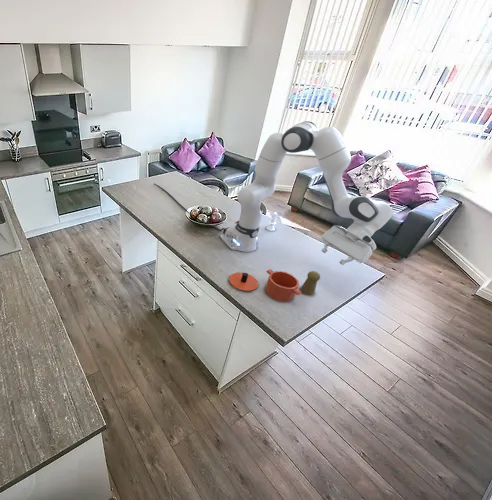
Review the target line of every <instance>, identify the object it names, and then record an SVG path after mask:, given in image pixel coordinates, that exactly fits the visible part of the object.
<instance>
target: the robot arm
mask: <svg viewBox="0 0 492 500" xmlns="http://www.w3.org/2000/svg"><path fill="white" fill-rule="evenodd" d="M309 150H311V151H312V152H313V153H314V155H315V157H316V159H317V162H318V164H319V166H320V169H321V172H322V175H323V178H324V181H325V184H326V188H327V191H328V193H329V196H330V199H331V211H332V213H333V215H334V216H335V217H337V218H339V219H352V220H353V223H351V224H350V225H349V226H348V227H347V228H346V227H344V226H343V227H342V226H341V225H339V224H338V225H337V224H335V225H333V226H331V227H330V229H328V230H327V231H326V232H324V233H323V234H322V235H321V240H322V241H323V242H325V243H324V245H323V248H322V249H320V250H321V252H322V253H324V254H326V253H328V252H329V250H328V247H330V246H331V247H333V248H335V249H336V250H338V251H339V252H341V253H342V254H344V255H346V256H347V258H345V259H341V260H340V261H339V262H338V263H339V264H340V265H342V266H344V265H346V263H350V262H353V261H354V260H355V261H356V262H357V263H359V264H364V263H365V262H367V260H368V259H369V258H370V257H371V256H372V255H373V251H375V250H376V249H377V244H376V243H375V241H374V239H373V238H371V237H373V235H374V234H375V232H376V231H379V230H380V229H382V228H383V227H384V226H385V225H386V223H388V222H389V221H390V219H391V218H392V216H393V214H394V210H393V208H392V207H391V206H390V205H389V204H388V203H386V202H385V201H377V200H372V199H371V198H369V197H367V196H362V195H361V196H360V195H358V196H357V195H355V196H352V195H350V194H349V193H348V191H347V188H346V186H345V183H344V179H343V174H344V172H346V170H347V169H348V168H349V166H350V165H351V162H352V158H351V153H350V150H349V148H348V145H347V143H346V141H345V140H344V138H343V136H342V135H341V133H340V132H339V131H338V130H337V128H336V127H334V126H326V127H323V128H320V129H319V128H318V125H317V124H316V123H314V122H312V121H308V120H307V121H302V122H299V123H297V124H294V125H293V126H292V127H290V128H289V129H286V131H284V133H281V132H275V133H272V134H270V135H268V138H267V139H266V141H265V143H264V145H263V146H262V148H261V150H260V153H259V155H258V158H257V160H256V163H255V166H254V173H255V176H254V179H253V181H252V182H251V183H249V184H247V185H245V186H243V187H242V188H241V189H240V190H239V191H238V193H237V201H238V204H240V215H239V219H238V220H237V221H235V222H234V224H235V225H233V226H227V227H222V228H217V227H216V226H214V225H213V226H211V228H213V229H215V230H217V231H219V232H222V233H221V234H220V236H219V238H220V239H221V240H222V241H223V242H224V243H225V245H227V247H229V249H230V250H232V251H239V252H243V253H250V252H254V251H255V250H257V240H258V234H259V231H260V225H261V224H260V223H261V220H262V217H263V211H262V210H261V205H262V202H264V201H266V200H267V199H269V198H271V197H272V195H274V193H275V191H276V178H277V175H278V174H279V173H278V172H279V170H280V168H281V166H282V164H283V161H284V159H285V156H286V154H287V153H291V154H294V153H295V154H296V153H301V152H305V151H309ZM153 185H154V186H157V187H158V188H160V189H161V190H162V191H164V192H165V193H166V194H167V195H168V196H169V197H171V199H172V200H174V202H175V203H176V204H178V205H179V207H181V208H182V209H183V210H184V211H185V212H187V210H188V209H186V208H185V207H184V206H183V205H182V204H181V203H180V202H179V201H178V200H177V199H176V198H175V197H173V195H171V193H169V192H168V191H167V190H165V189H164V187H162V186H160V185H158V184H156V183H155V182H154V183H153Z"/></svg>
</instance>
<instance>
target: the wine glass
mask: <svg viewBox="0 0 492 500" xmlns="http://www.w3.org/2000/svg"><path fill="white" fill-rule="evenodd" d="M277 217H278V213H277V212H276V211H274V212H273V213H272V215H271V219H270V220H268V223H269V225H267V226H266V227H265V228H266V230H268V231H271V232H274V231H275V230H276V228H275V225H277V222H276V220H277Z"/></svg>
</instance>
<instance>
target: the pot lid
mask: <svg viewBox="0 0 492 500" xmlns="http://www.w3.org/2000/svg"><path fill="white" fill-rule="evenodd" d="M228 281H229V284H230V285H231V286H232V287H233V288H234V289H237V290H238V291H243V292H252V291H255V290H256V289H258V286H259V281H258V279H257V278H255V276H253V275H251V274H249V273H247V272H234V273H232V274H230V276H229V278H228Z"/></svg>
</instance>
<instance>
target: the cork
mask: <svg viewBox="0 0 492 500" xmlns="http://www.w3.org/2000/svg"><path fill="white" fill-rule="evenodd" d="M320 280H321V274H320V272H317V271H314V270H311V271H309V272H308V273H307V275H306V279H305V281H304V282H303V284H302V285H301V287H300V289H299V290H300V291H301V292H302V293H301V294H304V296H305V295H306V296H314V295H315V293H316V292H315V291H316V288H317V284H318V281H320Z"/></svg>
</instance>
